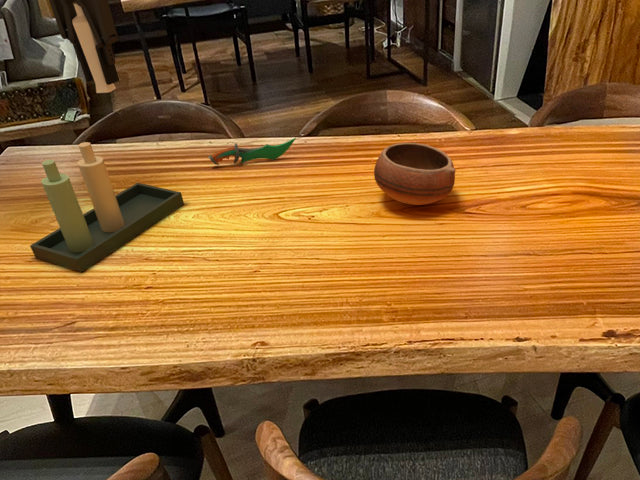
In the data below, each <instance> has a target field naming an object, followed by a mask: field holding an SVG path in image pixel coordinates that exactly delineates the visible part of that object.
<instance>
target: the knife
mask: <svg viewBox="0 0 640 480" xmlns="http://www.w3.org/2000/svg"><path fill="white" fill-rule="evenodd" d="M296 139H297V137H293V138H292V139H291V140H289V141H285V142H283V143H281V144H275V145H271V144H268V143H266V144H265V145H263V146H259V147H254V148H253V147H252V148H246V147H238V143H237V142H235V143H234V146H231V147H227V148H222V149H219V150H217V151H216V152H213V153H212V154H211V155H209V156H208V159H209V161H211V162H212V163H213V164H214V165H216V166H219V165H220V163H219V162H221V163H222V162H223V160H224V159H226V160H229V159H230V157H234V159H233V164H236V163H237V162H238V161H239V159H240V158H241V159H240V164H243V163H246V162H249V161H253V160H259V159H260V160H261V159H266V160H272V161H274V160H277V159H279V158H280V157H282V156H283V155H284V154H285V153H286V152H287V151H288V150H289V149H290V147H291V146H292V145H293V143H294V142H295V140H296Z"/></svg>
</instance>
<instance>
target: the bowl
mask: <svg viewBox="0 0 640 480" xmlns="http://www.w3.org/2000/svg"><path fill="white" fill-rule="evenodd" d="M456 171H457V170H456V168H455V166H454V162H453V159H451V157H450V156H449V155H448V154H447V153H446V152H444V151H443V150H441V149H439V148H438V147H434V146H431V145H428V144H426V143H419V142H398V143H393V144H391V145H388V146H386V147H385V148H384V149H382V151H381V152H380V154H379V156H378V157H377V159H376V162H375V165H374V170H373V176H374V180H375V183H376V184H377V186H378V188H379V189H380V190H381V192H383V193H384V194H386V195H387V196H389V197H390V198H392V199H394V200H395V201H397V202H400V203H404V204H407V205H412V206H421V205H422V206H423V205H429V204H434V203H436V202H439V201H441V200H443V199H444V198H445V197H447V196H448V195H449V194H450V193H452V191H453V189H454V186H455V180H456Z"/></svg>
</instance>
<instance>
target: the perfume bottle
mask: <svg viewBox="0 0 640 480" xmlns="http://www.w3.org/2000/svg"><path fill="white" fill-rule="evenodd" d="M73 5H74V6H75V10H76V13H77V16H76V17H75V18H74V19H73V20H72V23H73V26H74V28H75V31H76V33H77V36H78V39H79V41H80V44H81V47H82V49H83V52H84V55H85V57H86V60H87V63H88V65H89V68H90V70H91V73H92V76H93V78H94V80H93V81H94V84H95V92H96V94H105V93H111V92H112V91H115V90H116V89H117V88H116V85H115V83H113V84H110V85H107V84H106V81H105V78H104V74H103V71H102V68H101V65H100V61H99V58H98V55H97V52H96V48H95V45H97V42H96V39H95V37H94V35H93V33H92V30H91V28H90V26H89V24H88V22H87V19H86V17H85V15H84V13H83V11H82V8H81V7H80V6H78V5H77V3H76V2H74V3H73Z"/></svg>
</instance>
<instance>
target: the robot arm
mask: <svg viewBox="0 0 640 480" xmlns="http://www.w3.org/2000/svg"><path fill="white" fill-rule="evenodd" d="M48 1H49V4H50V7H51V8H50V9H51V10H52V14H53V17H54V19H55V21H56V26H57V28H58V31H59V33H60V37H61V38H62V40H68V41H69V43H70V44H71V45H72V46H73V49H74V52H75V55H76V59H77V60H78V62H79V64H80V66H81V69H82V72H83V76H84V78H85V79H84V80H85V81H86V82H88V83H90V82H92V81H94V78H93V76H92V73H91V70H90V68H89V65H88V63H87V60H86V57H85V55H84V52H83V49H82V47H81V44H80V41H79V39H78V36H77V33H76V31H75V28H74V26H73V23H72V20H73V19H74V18H75V17H76V16H77V13H76V10H75V6H74V5H73V3H74V2H76V3H77V5H78V6H80V7H81V8H82V11H83V13H84V15H85V17H86V19H87V22H88V24H89V26H90V28H91V30H92V33H93V35H94V37H95V39H96V42H97V45H95V48H96V52H97V55H98V58H99V61H100V65H101V68H102V71H103V74H104V78H105V81H106V84H107V85H110V84H115V83H117V82H119V81H120V78H119V74H118V71H117V68H116V57H115V54H114V51H113V47H112V44H114V43H116V42H118V41H119V36H118V32H117V28H116V26H115V22H114V21H115V20H114V18H113V14H112V11H111V6H110V3H109V0H48Z"/></svg>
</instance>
